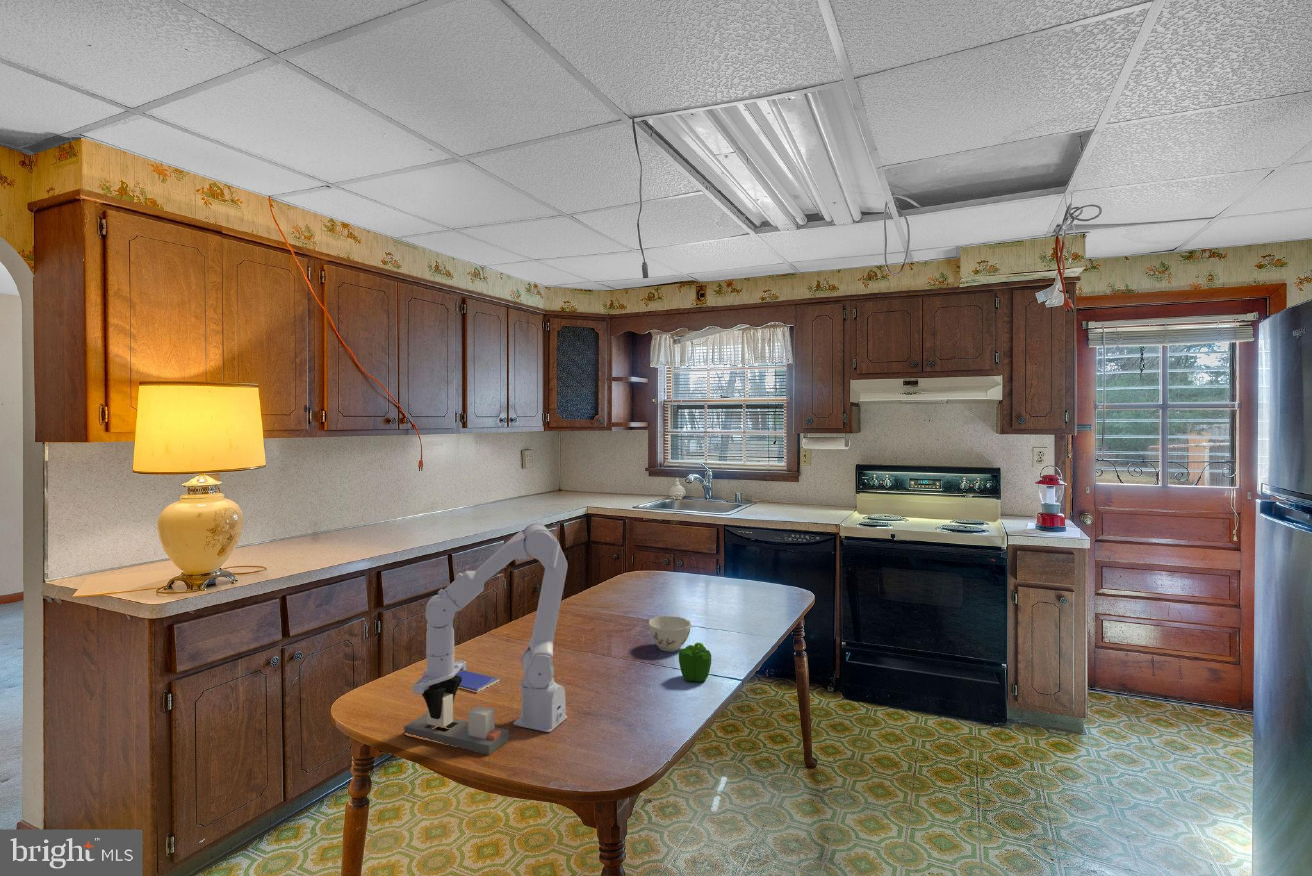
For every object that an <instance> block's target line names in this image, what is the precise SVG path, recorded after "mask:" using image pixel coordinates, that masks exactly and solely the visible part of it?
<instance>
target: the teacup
mask: <svg viewBox="0 0 1312 876" xmlns="http://www.w3.org/2000/svg"><path fill="white" fill-rule="evenodd" d="M691 627H692V623H691V621H690V620H687V619H686V618H684V617H681V616H673V615H672V616H671V615H670V616H667V615H661V616H655V617H652V618H650V620H649V621H648V630H649V633H650V636H651V638H652V640H653V642H654V644H655V645H656V646H657V647H658V649H660V650H661V651H664V652H668V653H669V652H673V653H674V652H676V651H680V649H681V648H682V646H683V645H684V644H685V643H686V642H687V640H688V637H689V635H690V632H691Z"/></svg>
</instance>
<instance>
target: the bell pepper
mask: <svg viewBox="0 0 1312 876" xmlns="http://www.w3.org/2000/svg"><path fill="white" fill-rule="evenodd" d="M678 663H679V667H680V672H681V675H682V677H683V679H684V680H685V681H686V682H693V681H695V682H697V683H698V682H699V683H701V682H705V681H706V680H707V678H708V677H709V674H710V670H711V667H712V666H711V665H712V653H711V651H710V650H709V649H707V648H706V647H705V646H704V643H702V642H700V641H699V642H696V643H694V645H693V644H689V645H687V646H686V647H684V648H679V650H678Z"/></svg>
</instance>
